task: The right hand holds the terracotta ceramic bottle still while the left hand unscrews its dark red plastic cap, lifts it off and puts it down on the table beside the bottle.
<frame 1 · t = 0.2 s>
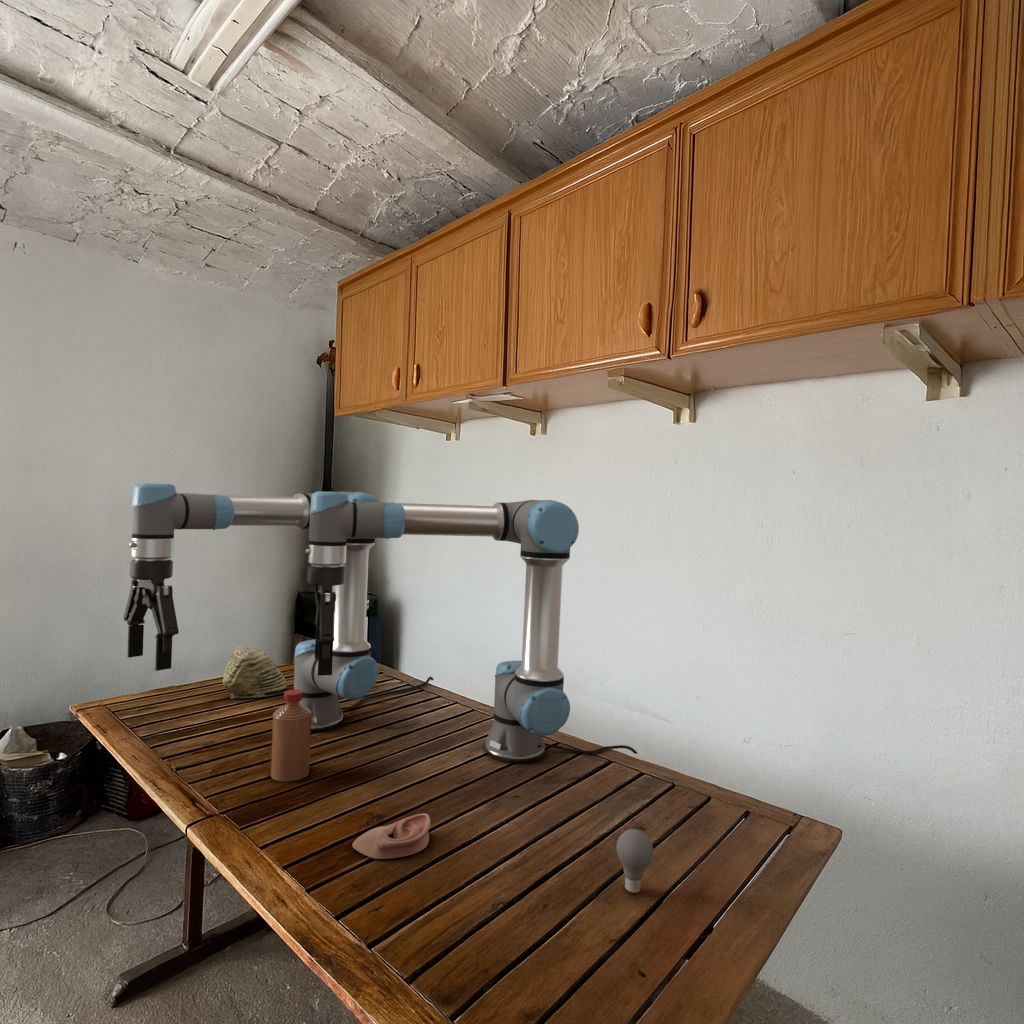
left hand: (148, 662, 129), 28 cm above the table, tool pointing down, fingers open, 13 cm apart
right hand: (322, 666, 133), 28 cm above the table, tool pointing down, fingers open, 13 cm apart
anatomical model: (391, 844, 117), on the table
light bulb: (632, 891, 106), on the table
bottle: (290, 773, 144), on the table
cap: (293, 693, 144), point 18 cm above the table, screwed on, not yet turned
fossil: (254, 694, 198), on the table
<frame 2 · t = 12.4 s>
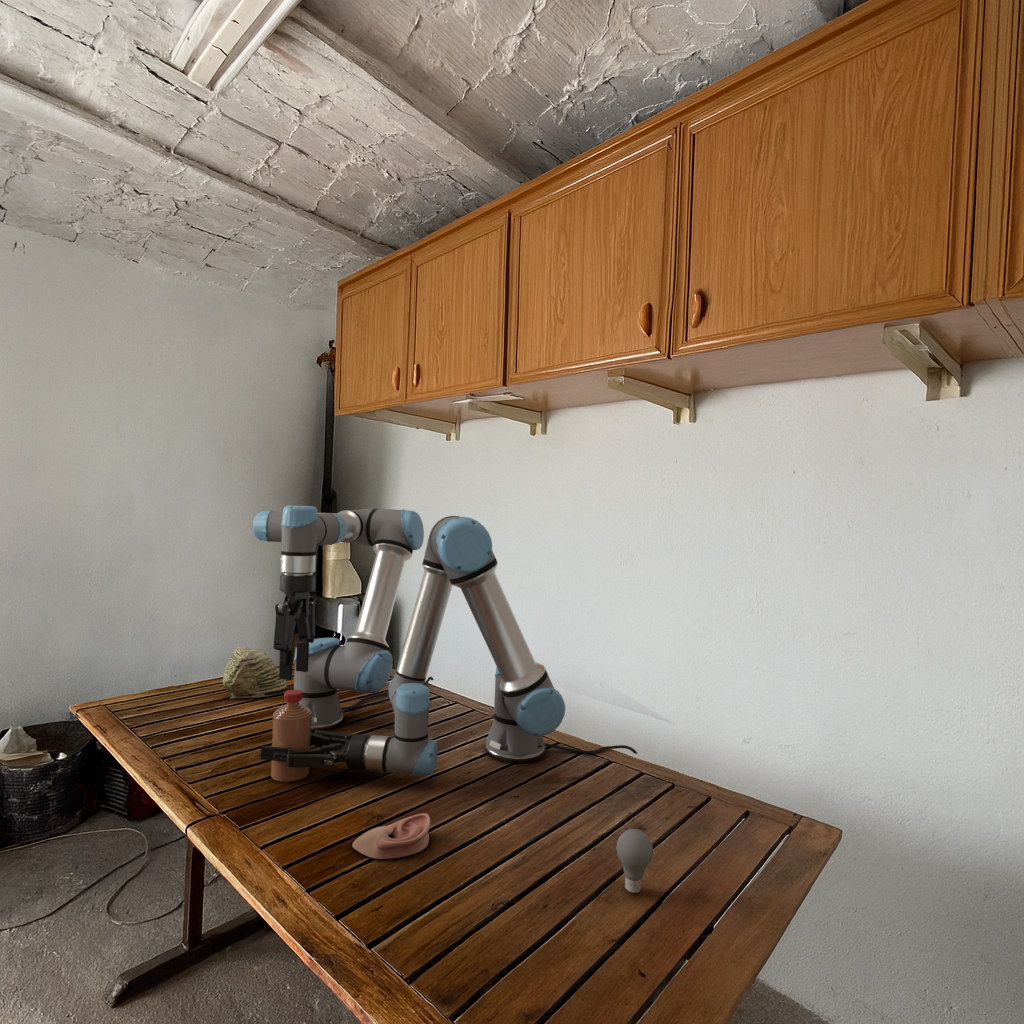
left hand: (293, 674, 144), 23 cm above the table, tool pointing down, fingers open, 6 cm apart
right hand: (271, 744, 144), 6 cm above the table, tool horizontal, fingers closed on bottle, 8 cm apart
bottle: (290, 773, 144), on the table, touching right hand
everything else where it was.
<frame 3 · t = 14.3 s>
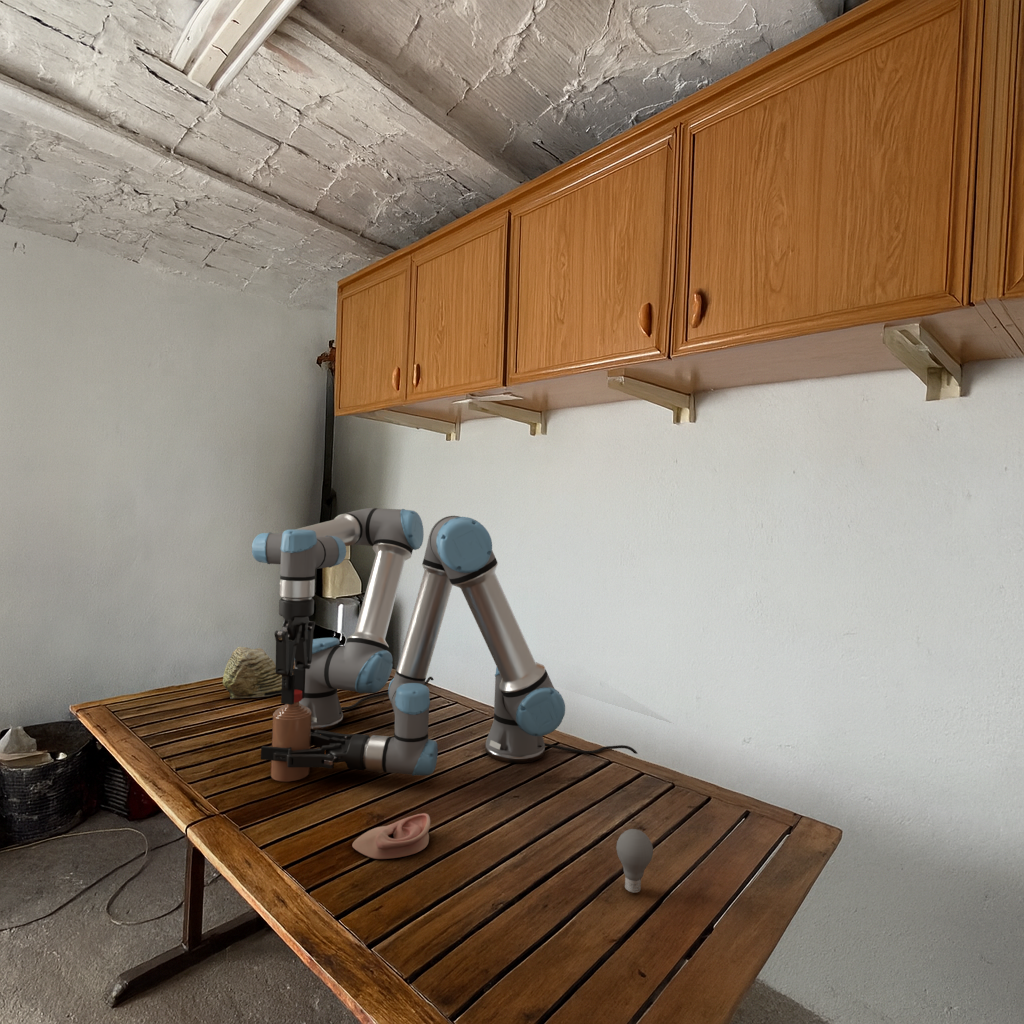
left hand: (292, 700, 144), 17 cm above the table, tool pointing down, fingers closed on cap, 4 cm apart
right hand: (271, 744, 144), 6 cm above the table, tool horizontal, fingers closed on bottle, 8 cm apart
bottle: (290, 773, 144), on the table, touching right hand
cap: (293, 693, 144), point 18 cm above the table, screwed on, not yet turned, touching left hand
everything else where it was.
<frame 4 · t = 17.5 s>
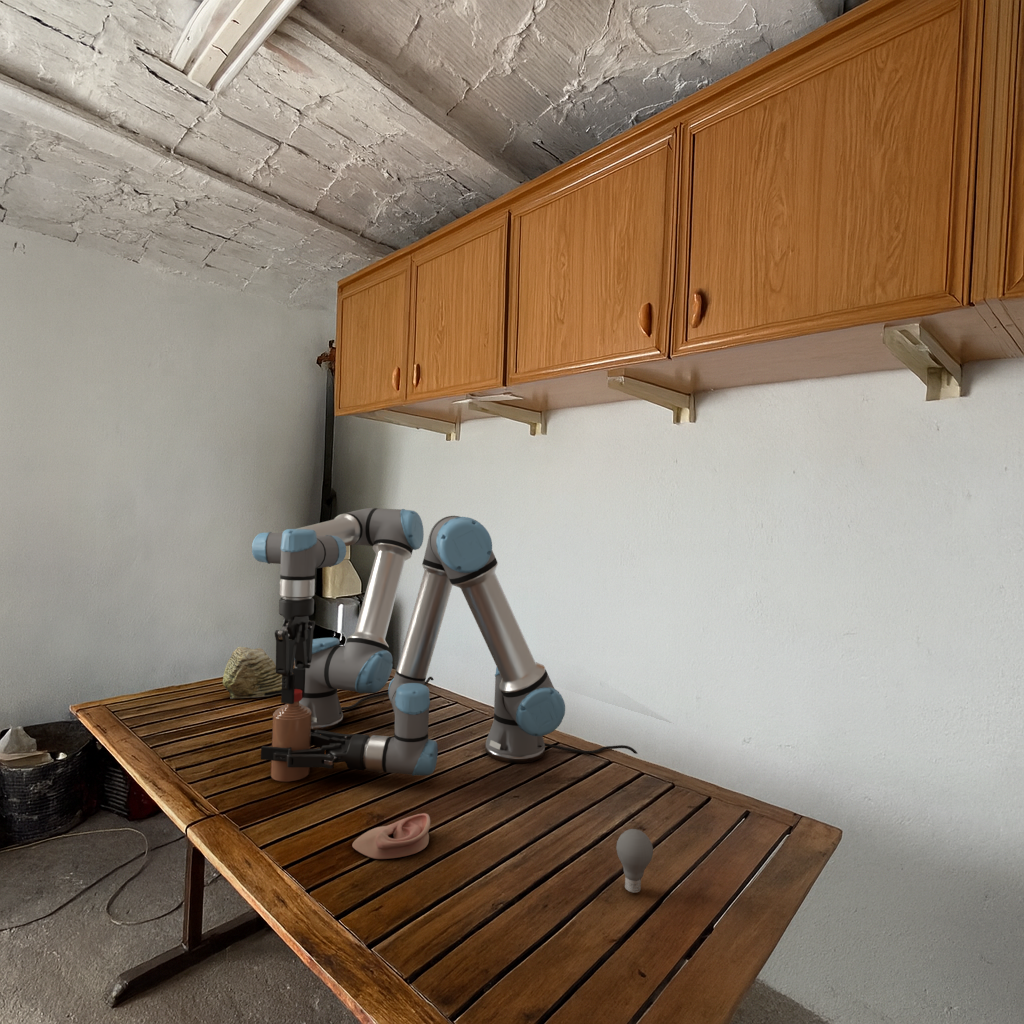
left hand: (293, 699, 144), 17 cm above the table, tool pointing down, fingers closed on cap, 4 cm apart
right hand: (271, 744, 144), 6 cm above the table, tool horizontal, fingers closed on bottle, 8 cm apart
bottle: (290, 773, 144), on the table, touching right hand
cap: (293, 692, 144), point 18 cm above the table, turned 114° so far, risen 0.1 cm, still on its thread, touching left hand
everything else where it was.
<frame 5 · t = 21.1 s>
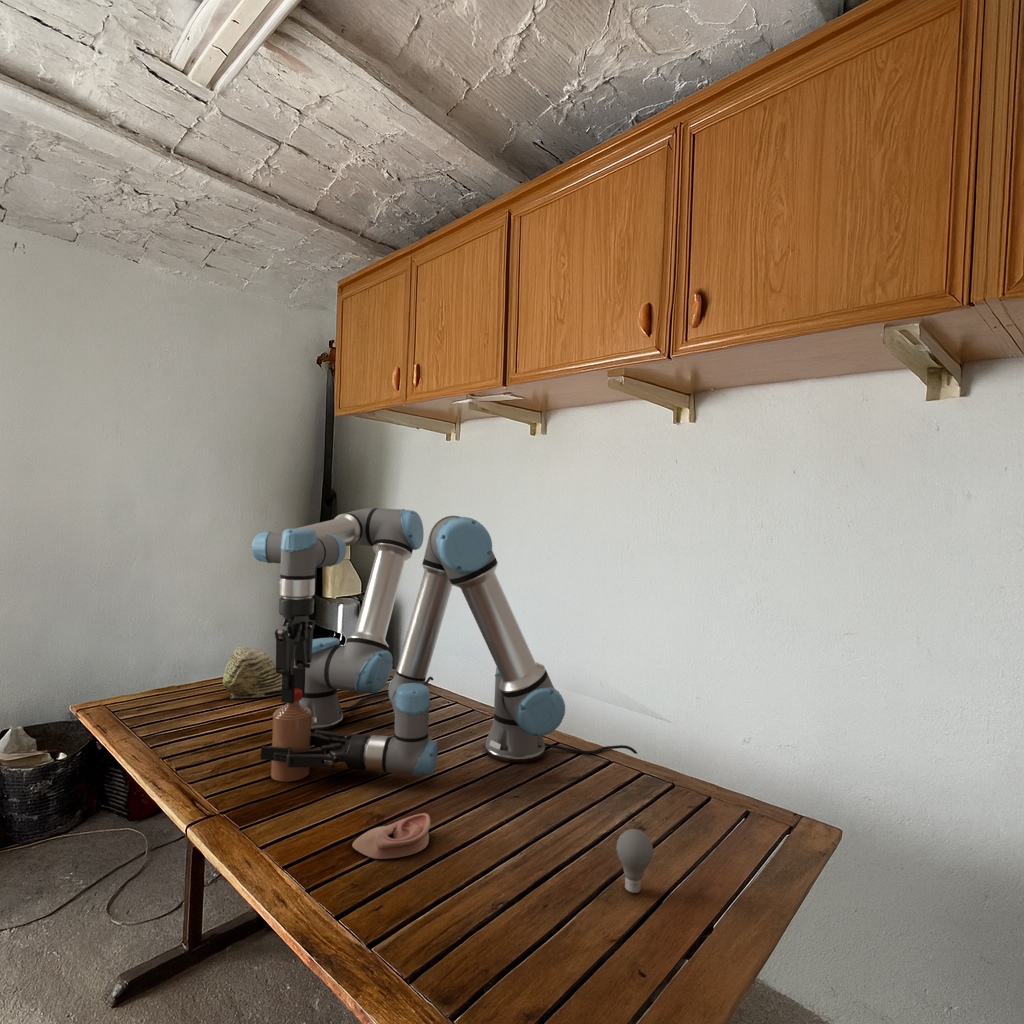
left hand: (293, 699, 144), 17 cm above the table, tool pointing down, fingers closed on cap, 4 cm apart
right hand: (271, 744, 144), 6 cm above the table, tool horizontal, fingers closed on bottle, 8 cm apart
bottle: (290, 773, 144), on the table, touching right hand
cap: (293, 692, 144), point 19 cm above the table, turned 227° so far, risen 0.2 cm, still on its thread, touching left hand
everything else where it was.
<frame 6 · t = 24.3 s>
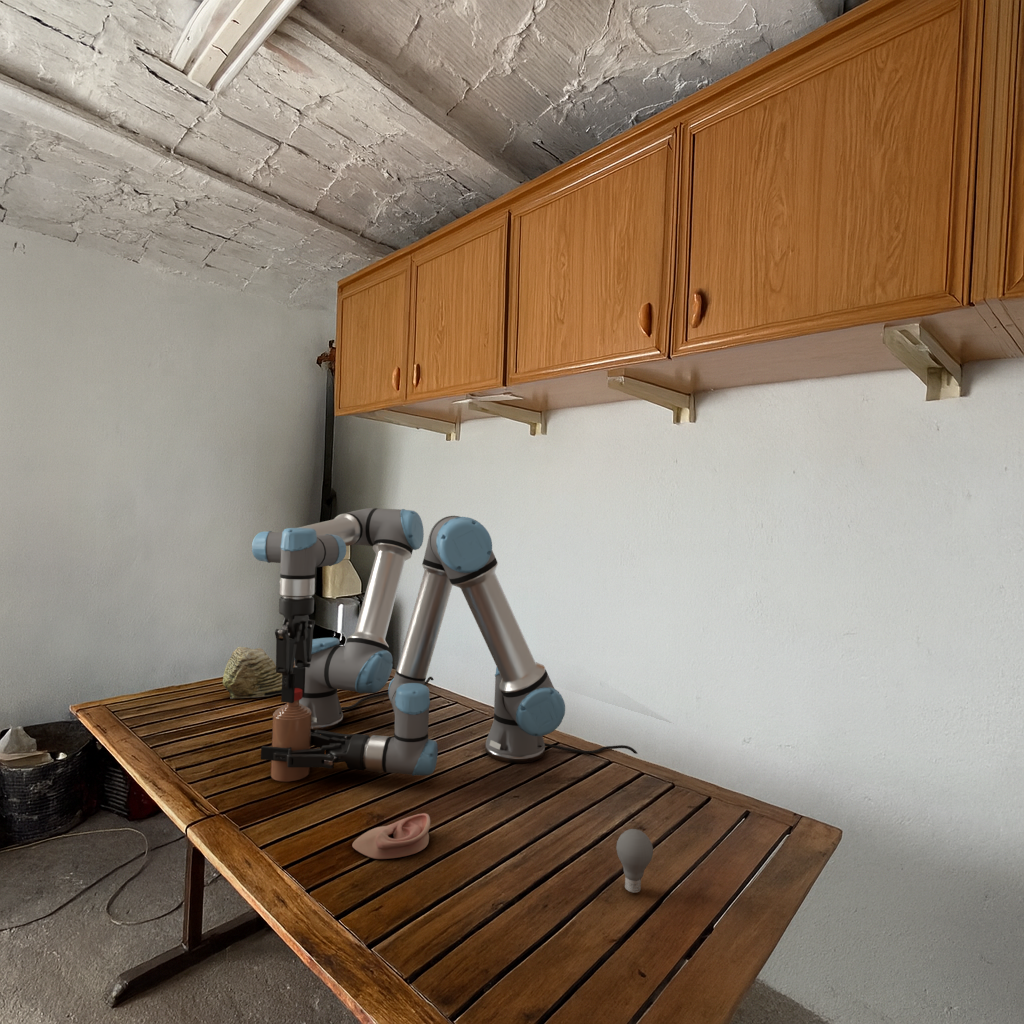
left hand: (293, 698, 144), 17 cm above the table, tool pointing down, fingers closed on cap, 4 cm apart
right hand: (271, 744, 144), 6 cm above the table, tool horizontal, fingers closed on bottle, 8 cm apart
bottle: (290, 773, 144), on the table, touching right hand
cap: (293, 691, 144), point 19 cm above the table, turned 341° so far, risen 0.3 cm, still on its thread, touching left hand
everything else where it was.
when the left hand's fingers open (2 cm above the table, at t = 30.3 s): cap drops 2 cm, point 1 cm above the table.
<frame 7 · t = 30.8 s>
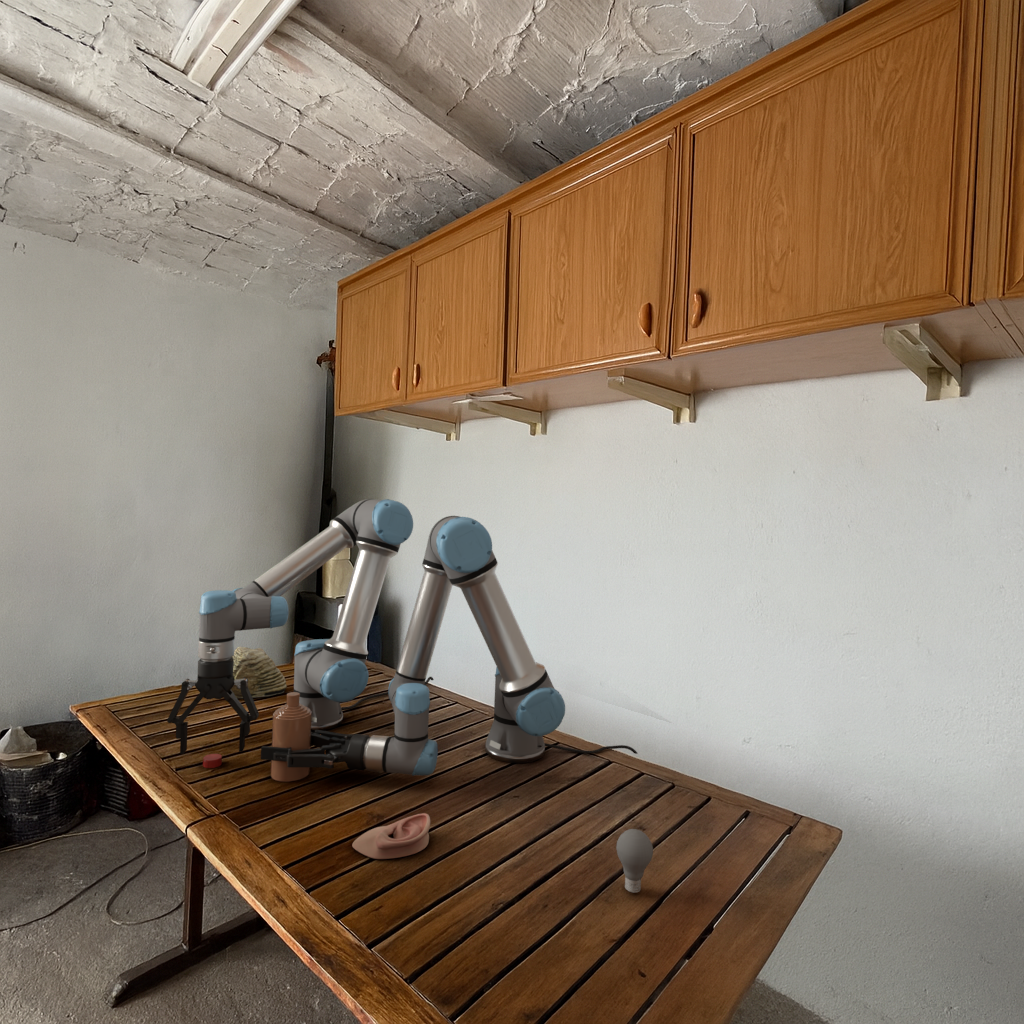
left hand: (212, 750, 147), 3 cm above the table, tool pointing down, fingers open, 12 cm apart
right hand: (271, 744, 144), 6 cm above the table, tool horizontal, fingers closed on bottle, 8 cm apart
bottle: (290, 773, 144), on the table, touching right hand
cap: (212, 758, 147), point 1 cm above the table, off its thread
everything else where it was.
when the right hand's fingers open (6 cm above the table, at t = 31.6 s): bottle stays where it is, on the table.
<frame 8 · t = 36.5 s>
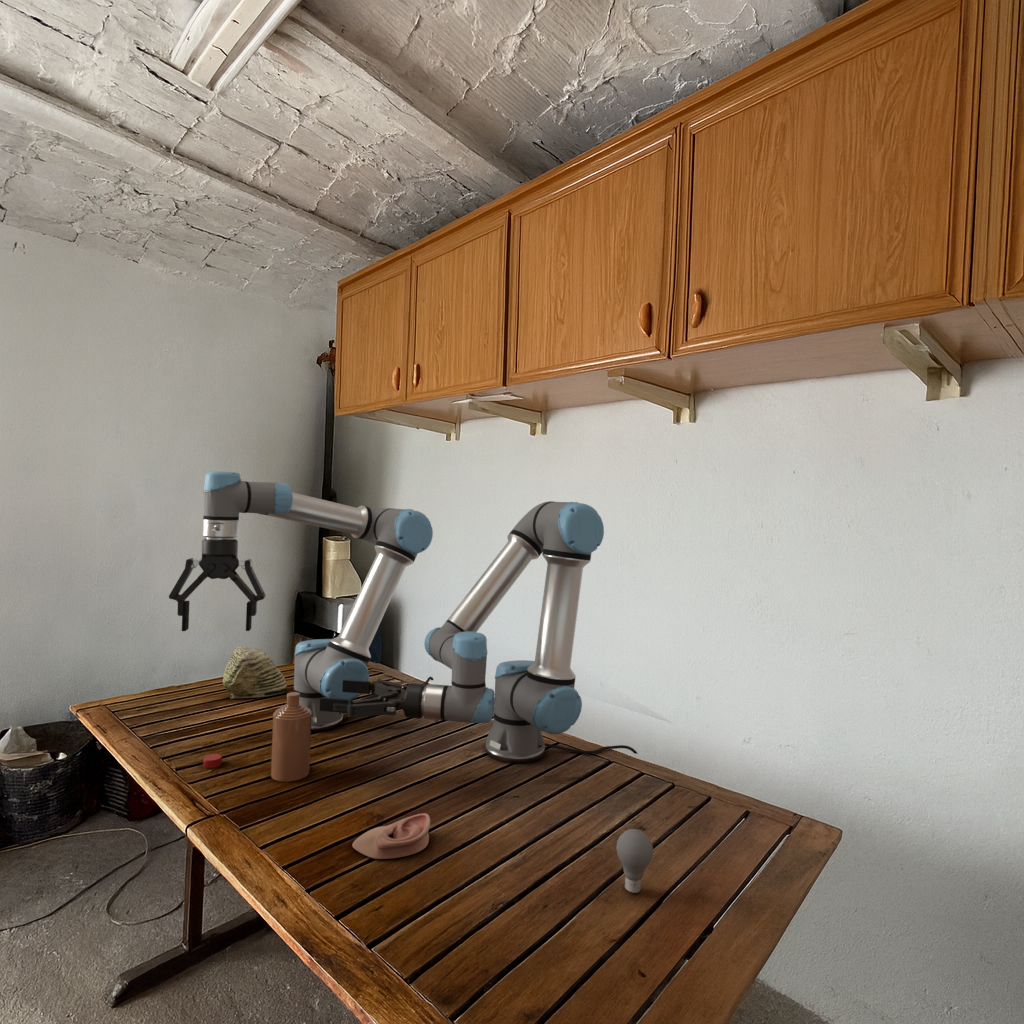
left hand: (217, 630, 146), 31 cm above the table, tool pointing down, fingers open, 13 cm apart
right hand: (332, 694, 143), 19 cm above the table, tool horizontal, fingers open, 13 cm apart
bottle: (290, 773, 144), on the table
everything else where it was.
at the end: cap came off its thread; cap point 1.5 cm above the table; the left hand is holding nothing; the right hand is holding nothing; bottle tilted 0°; bottle moved 0.0 cm from its start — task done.
